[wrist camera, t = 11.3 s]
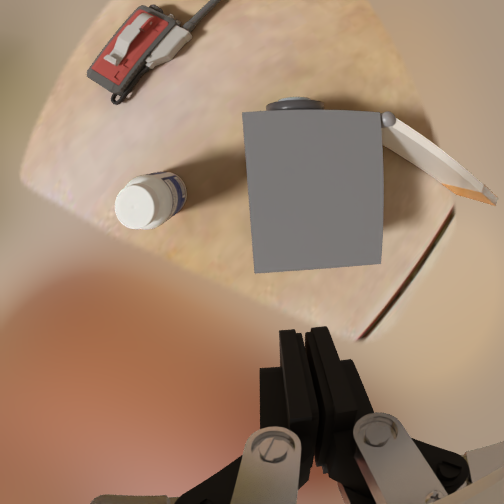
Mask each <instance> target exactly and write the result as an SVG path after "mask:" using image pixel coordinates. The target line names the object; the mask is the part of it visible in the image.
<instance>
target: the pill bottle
mask: <svg viewBox="0 0 504 504" xmlns="http://www.w3.org/2000/svg"><path fill="white" fill-rule="evenodd" d="M186 197H187V191H186V187H185V184H184V182H183V181H182V179H181V178H180V177H179V176H177V175H176V174H174V173H171V172H157V173H151V174H145V175H140V176H138V177H135V178H134V179H132V180H131V181H130V182H129V183H128V184H127V185H126V186H125V188H124V189H122V190H121V191H120V192H119V194H118V196H117V198H116V201H115V212H116V215H117V218H118V219H119V221H120V222H121V223H122V224H123V225H124V226H126V227H128V228H130V229H153V228H156V227H158V226H160V225H162V224H163V223H164V222H166V221H167V220H168V219H170V218H171V217H172V216H174V215H175V214H176V213H178V212H179V211H180V210H181V209H182V207H183V206H184V204H185V201H186Z"/></svg>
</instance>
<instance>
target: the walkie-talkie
mask: <svg viewBox="0 0 504 504" xmlns="http://www.w3.org/2000/svg"><path fill="white" fill-rule="evenodd" d="M220 1H221V0H210V1H209V2H208V3H207V4H206V5H205V6H204V7H203V8H202V9H200V10H199V11H198V12H197V13H196V14H195V15H194V16H193V17H192V18H191V19H190V20H189V21H187V22H186V23H185V24H184V25H183V26H182V28H181V27H180V24H181V22H180V21H179V20H176V21H175V20H174V18H175V17H174V16H173V15H172V14H169V15H168V16H166V15H164V14H163V10H162V9H161V8H159V7H158V6H156V5H150V6H149V7H146V6H143V5H142V6H139V7H138V8H137V9H136V10H135V11H134V12H133V13H132V14H131V15H130V16H129V18H128V19H127V20H126V21H125V22H124V23H123V24H122V26H121V27H120V28H119V29H118V30H117V32H116V33H115V35H113V37H112V38H111V39H110V41H109V42H108V43H107V45H105V47H104V49H102V51H101V52H100V54H99V55H98V56H97V58H96V59H95V61H94V62H93V63H92V65H91V66H90V68H89V69H88V70H87V77H88V78H90V79H91V80H93V81H95V82H96V83H98V84H99V85H101V86H102V87H104V88H105V89H107V90H108V91H110V92H112V93H113V95H112V97H111V101H112V103H113V104H115V105H118V104H120V103H121V102H123V101H124V99H125V98H126V96H127V95H128V93H129V92H130V91H131V89H132V88H133V87H134V85H135V84H136V82H137V81H138V80H139V78H140V77H141V76H142V75H143V74H144V73H145V72H147V71H148V70H149V69H150V68H151V69H153V68H154V67H155V66H157V65H160V64H162V63H165V62H167V61H170V60H171V59H172V58H173V57H174V56H175V55H176V54H177V53H178V51H179V50H180V49H181V48H182V47H183V46H184V45H185V44H186V42H189V41H190V40H191V39H192V35H191V34H190V32H191V31H192V30H193V29H194V28H195V25H196V24H197V23H198V22H199V21H200V20H201V19H202V18H203V17H204V16H205V15H206V14H207V13H208V12H209V11H210V10H211V9H213V8H214V7H215V5H216V4H217V3H219V2H220ZM117 95H119V96H121V98H120V99H119V100H118V101H115V98H116V96H117Z"/></svg>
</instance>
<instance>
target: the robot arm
mask: <svg viewBox="0 0 504 504" xmlns="http://www.w3.org/2000/svg"><path fill="white" fill-rule="evenodd" d="M279 338H280V367H271V368H260V430H258V431H257V432H254V433H253V434H252V435H251V436H250V437H249V438H248V440H247V442H246V444H245V448H244V452H243V455H242V456H241V457H239V458H238V459H236V460H235V461H234V462H232V463H230V464H229V465H228V466H226V467H225V468H223V469H222V470H220V471H219V472H217V473H216V474H214V475H213V476H211V477H210V478H208V479H207V480H205V481H204V482H202V483H201V484H199V485H197V486H196V487H194V488H192V489H191V490H189V491H187V492H186V493H184V494H183V495H182V496H180V497H169V498H168V497H167V496H166V495H162V496H127V495H126V496H125V495H100V496H98V497H96V498H94V500H93V501H92V502H91V503H90V504H296V502H297V493H298V490H299V489H300V488H301V487H302V486H303V485H304V484H305V483H306V482H307V481H308V480H309V474H310V468H311V467H312V464H313V458H314V456H315V462H316V466H317V467H318V466H322V469H323V474H325V473H328V474H329V477H330V478H332V479H333V480H335V481H337V485H338V488H339V491H340V493H341V496H342V498H343V500H344V503H345V504H504V441H503V442H500V443H497V444H494V445H490V446H486V447H483V448H480V449H475V450H471V451H467V452H465V454H464V455H459V454H456V453H454V452H451V451H447V450H444V449H441V448H438V447H435V446H432V445H429V444H426V443H424V442H421V441H418V440H415V439H413V438H411V437H410V436H409V434H408V433H407V431H406V430H405V428H404V427H403V425H402V424H401V422H400V421H399V420H398V419H397V418H395V417H394V416H392V415H390V414H386V413H374V411H373V408H372V406H371V404H370V401H369V398H368V396H367V393H366V391H365V389H364V386H363V384H362V381H361V379H360V376H359V374H358V372H357V369H356V367H355V365H354V362H353V361H352V360H351V359H349V360H341V361H340V359H339V356H338V354H337V351H336V348H335V346H334V343H333V340H332V338H331V335H330V332H329V330H328V328H327V326H324V327H315V328H311V332H306V333H305V346H304V342H303V338H302V334H301V333H296V332H295V330H294V329H292V330H281V331H279Z"/></svg>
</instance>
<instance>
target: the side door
mask: <svg viewBox="0 0 504 504" xmlns="http://www.w3.org/2000/svg"><path fill="white" fill-rule="evenodd" d="M380 119H381V131H382V145H383V146H385V147H387V148H389V149H390V150H392V151H394V152H395V153H397V154H398V155H400V156H402V157H403V158H405V159H406V160H408V161H409V162H411V163H413V164H414V165H416V166H417V167H419V168H420V169H422V170H423V171H425V172H426V173H427V174H429V175H430V176H432V177H433V178H435V179H436V180H437V181H439V182H440V183H441V184H442V185H444V186H445V187H447V188H448V189H449V190H451V191H452V192H453V193H455V194H456V195H459V196H463V197H466V198H470V199H473V200H477V201H480V202H484V203H487V204H490V205H494V206H496V203H497V200H498V197H497V196H496V195H495V194H494V193H493V192H492V191H490V189H489V188H488V187H486V186H485V185H484V184H483V183H482V182H480V181H479V180H478V179H477V178H476V177H475V176H474V175H472V174H471V173H470V172H469V171H468V170H467V169H465V168H464V167H463V166H462V165H461V164H459V163H458V162H457V161H456V160H455V159H453V158H452V157H451V156H449V155H448V154H447V153H446V152H444V151H443V150H442V149H440V148H439V147H438V146H436V145H435V144H434V143H432V142H431V141H430V140H428V139H427V138H425V137H424V136H422V135H421V134H420V133H418V132H417V131H415V130H414V129H412V128H411V127H409V126H408V125H406V124H405V123H403V122H402V121H400V120H398V119H397V118H395V116H394V114H393V113H391V112H384V113H381V114H380Z"/></svg>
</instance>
